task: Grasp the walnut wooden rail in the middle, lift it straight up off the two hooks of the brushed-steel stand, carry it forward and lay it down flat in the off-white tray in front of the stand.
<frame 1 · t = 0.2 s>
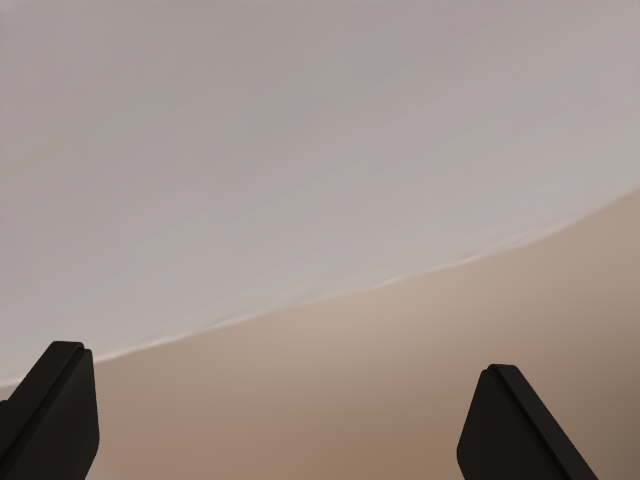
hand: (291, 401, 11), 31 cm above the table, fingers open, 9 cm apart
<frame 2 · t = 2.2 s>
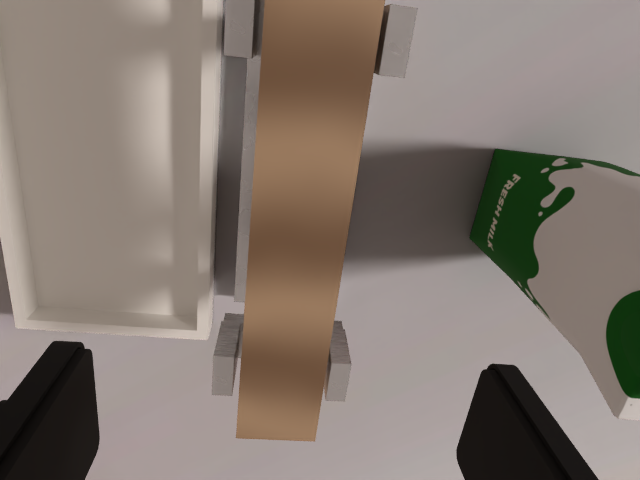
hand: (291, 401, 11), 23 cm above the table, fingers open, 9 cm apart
steel stand: (294, 159, 32), on the table
milk carton: (525, 199, 34), on the table
walnut rail: (296, 209, 22), point 10 cm above the table, touching steel stand
off-white tray: (114, 140, 30), on the table
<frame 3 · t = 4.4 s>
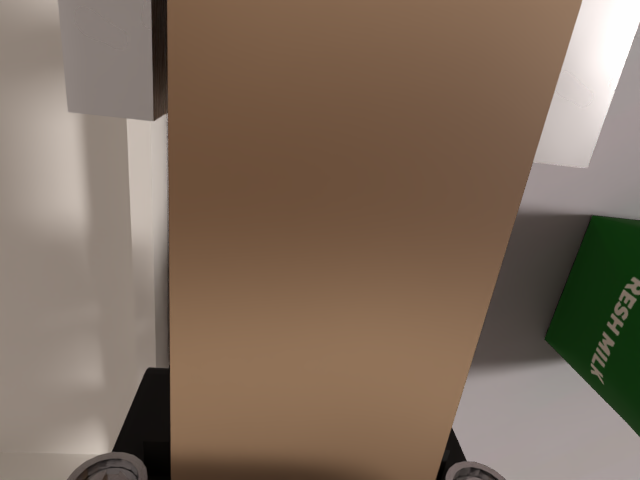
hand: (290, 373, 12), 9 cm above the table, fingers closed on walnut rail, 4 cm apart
steel stand: (287, 235, 20), on the table
milk carton: (629, 284, 23), on the table
walnut rail: (290, 392, 11), point 10 cm above the table, touching gripper, steel stand
off-white tray: (0, 211, 19), on the table
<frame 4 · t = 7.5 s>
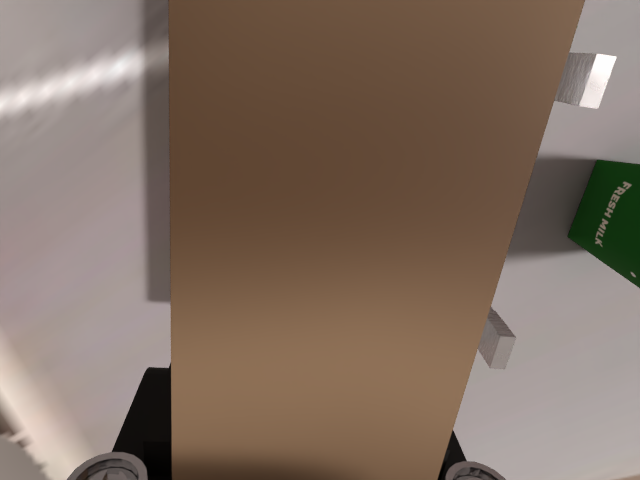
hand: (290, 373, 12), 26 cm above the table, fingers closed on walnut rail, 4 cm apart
steel stand: (426, 168, 37), on the table
milk carton: (618, 203, 39), on the table
walnut rail: (291, 394, 11), point 26 cm above the table, touching gripper
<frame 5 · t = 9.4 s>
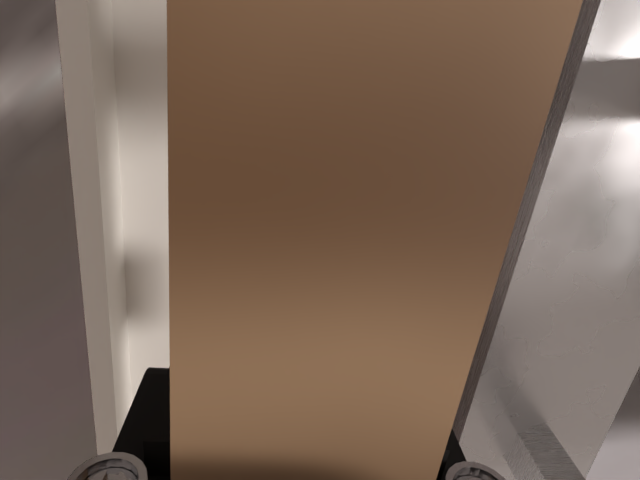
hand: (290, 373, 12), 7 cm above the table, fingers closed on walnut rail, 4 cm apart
steel stand: (572, 284, 19), on the table
walnut rail: (290, 394, 11), point 7 cm above the table, touching gripper
off-white tray: (288, 263, 18), on the table
when the fingers open (2 cm above the table, at t = 10.8 s): walnut rail drops 2 cm, resting on off-white tray.
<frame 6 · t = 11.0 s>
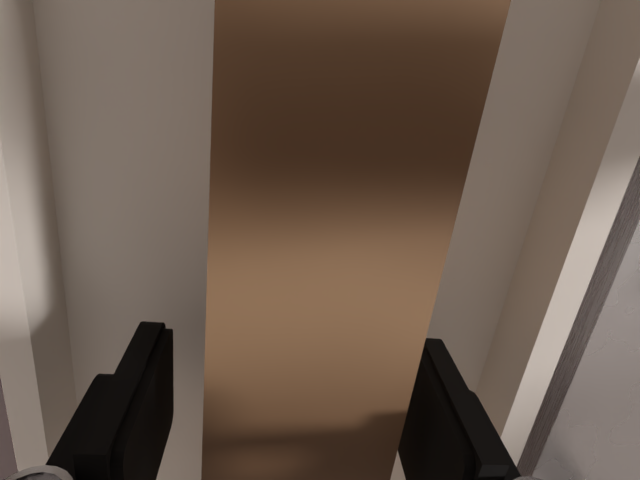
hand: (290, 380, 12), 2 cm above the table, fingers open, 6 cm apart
walnut rail: (295, 344, 13), point 1 cm above the table, touching off-white tray
off-white tray: (289, 332, 14), on the table
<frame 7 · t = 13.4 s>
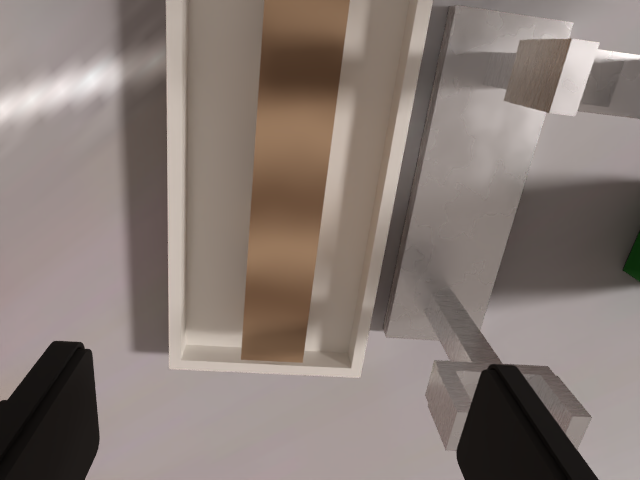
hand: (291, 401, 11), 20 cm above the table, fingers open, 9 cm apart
steel stand: (461, 194, 31), on the table
walnut rail: (287, 180, 29), point 1 cm above the table, touching off-white tray
off-white tray: (284, 177, 29), on the table
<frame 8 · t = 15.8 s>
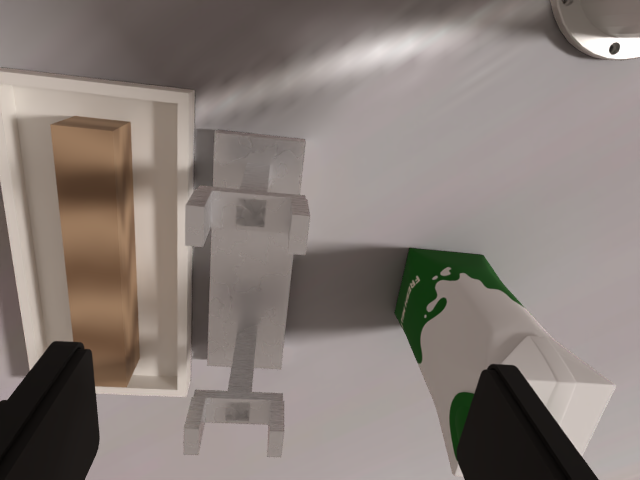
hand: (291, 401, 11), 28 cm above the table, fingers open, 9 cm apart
steel stand: (252, 258, 41), on the table
milk carton: (437, 283, 43), on the table
walnut rail: (111, 251, 39), point 1 cm above the table, touching off-white tray
off-white tray: (111, 248, 39), on the table
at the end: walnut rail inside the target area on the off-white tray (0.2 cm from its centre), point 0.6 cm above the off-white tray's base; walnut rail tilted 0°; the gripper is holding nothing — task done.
